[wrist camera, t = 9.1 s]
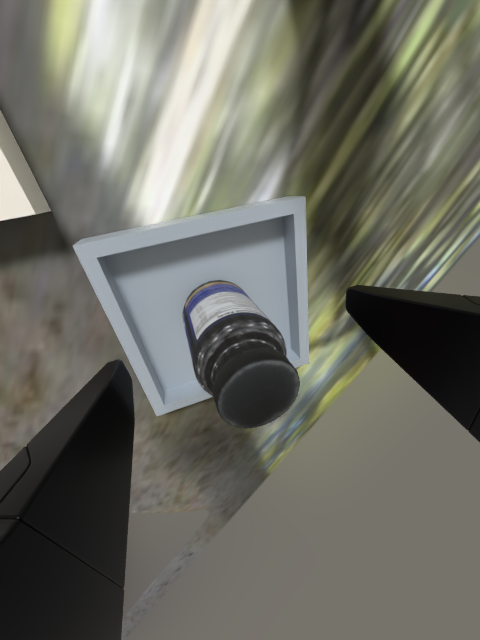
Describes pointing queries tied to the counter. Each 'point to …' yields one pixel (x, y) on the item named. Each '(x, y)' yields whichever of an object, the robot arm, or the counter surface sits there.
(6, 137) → the white square frame
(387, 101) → the counter surface
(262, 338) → the pill bottle
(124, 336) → the tray
